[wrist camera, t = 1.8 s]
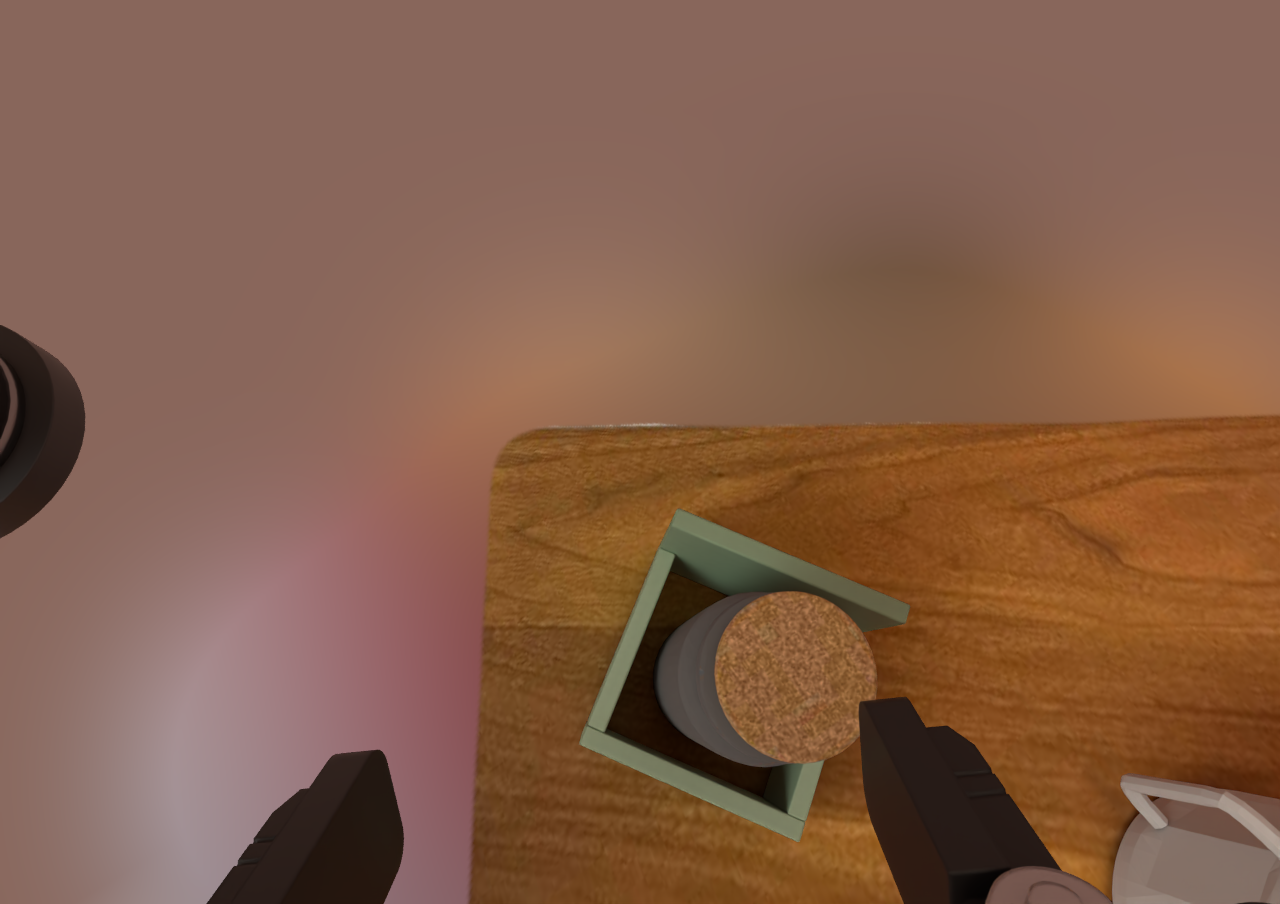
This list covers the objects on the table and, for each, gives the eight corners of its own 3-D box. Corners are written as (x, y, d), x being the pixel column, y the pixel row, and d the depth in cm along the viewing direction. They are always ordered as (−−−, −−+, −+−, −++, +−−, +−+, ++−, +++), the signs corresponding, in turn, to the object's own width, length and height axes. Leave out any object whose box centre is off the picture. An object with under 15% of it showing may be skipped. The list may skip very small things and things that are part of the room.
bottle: (751, 603, 36) (857, 550, 22) (787, 724, 34) (928, 753, 20) (638, 633, 35) (671, 598, 21) (670, 759, 33) (728, 814, 19)
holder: (580, 736, 33) (576, 754, 25) (657, 549, 36) (677, 507, 28) (772, 822, 33) (836, 870, 24) (835, 624, 36) (911, 604, 27)
